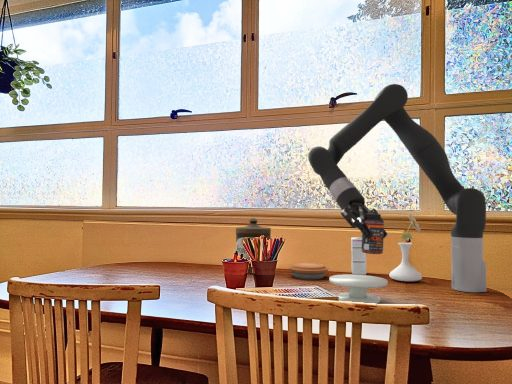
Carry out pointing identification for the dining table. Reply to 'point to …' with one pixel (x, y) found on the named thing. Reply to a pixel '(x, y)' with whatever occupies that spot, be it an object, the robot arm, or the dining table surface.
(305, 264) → the pie
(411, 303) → the dining table surface
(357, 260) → the syrup box
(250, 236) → the grey lidded jar
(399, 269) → the flower in vase
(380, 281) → the cake stand
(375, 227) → the supplement bottle
